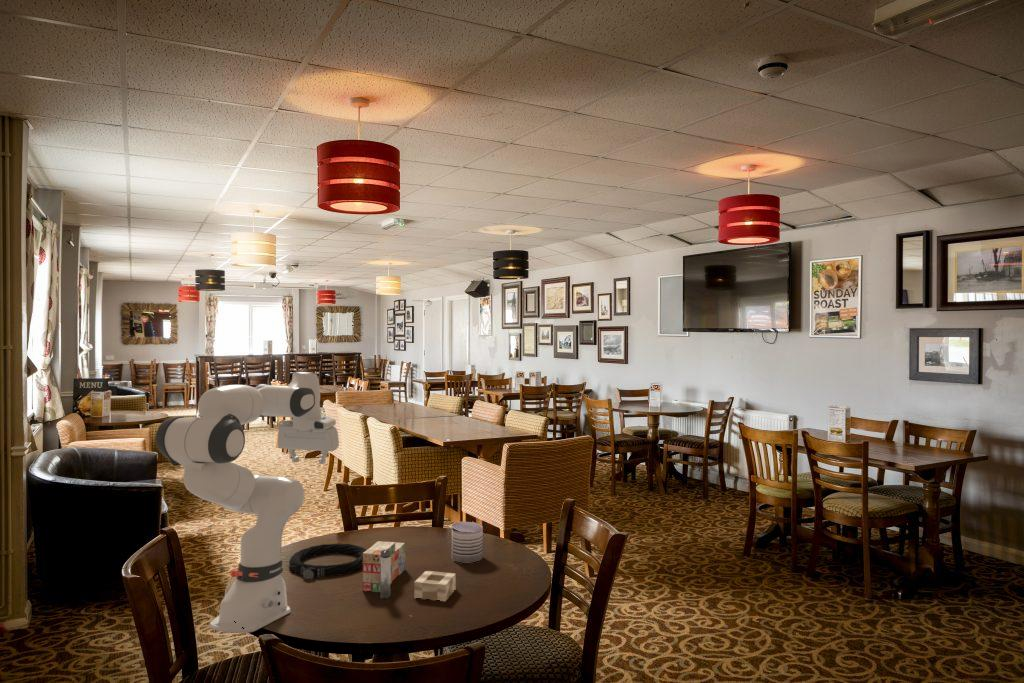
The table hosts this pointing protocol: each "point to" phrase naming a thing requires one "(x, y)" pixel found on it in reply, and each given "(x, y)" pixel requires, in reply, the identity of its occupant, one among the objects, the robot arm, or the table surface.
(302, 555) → the cable lock
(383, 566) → the silver metal rod
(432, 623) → the table surface
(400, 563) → the stack of blocks
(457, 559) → the can
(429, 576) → the light wooden square frame
